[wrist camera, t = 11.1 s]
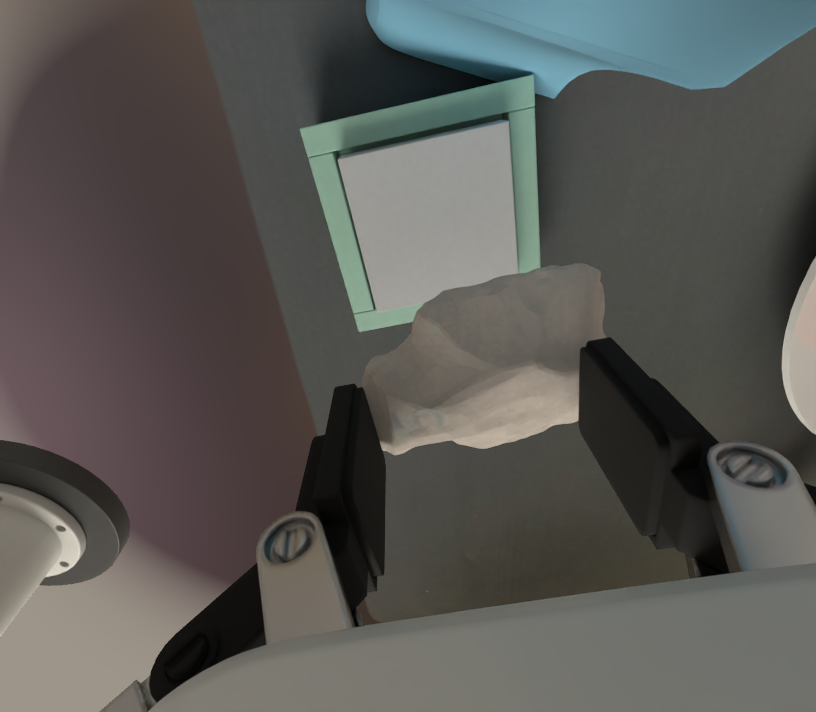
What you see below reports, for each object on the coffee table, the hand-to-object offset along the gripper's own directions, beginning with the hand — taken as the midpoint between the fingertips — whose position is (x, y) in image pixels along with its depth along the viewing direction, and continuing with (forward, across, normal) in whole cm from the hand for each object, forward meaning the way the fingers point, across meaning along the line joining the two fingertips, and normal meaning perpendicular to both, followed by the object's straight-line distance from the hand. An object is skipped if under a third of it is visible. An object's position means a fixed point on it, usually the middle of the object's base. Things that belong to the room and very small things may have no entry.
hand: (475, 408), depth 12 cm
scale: (+15, 0, -2) cm, 15 cm away
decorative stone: (+3, -1, 0) cm, 3 cm away
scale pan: (+13, 0, -2) cm, 13 cm away
